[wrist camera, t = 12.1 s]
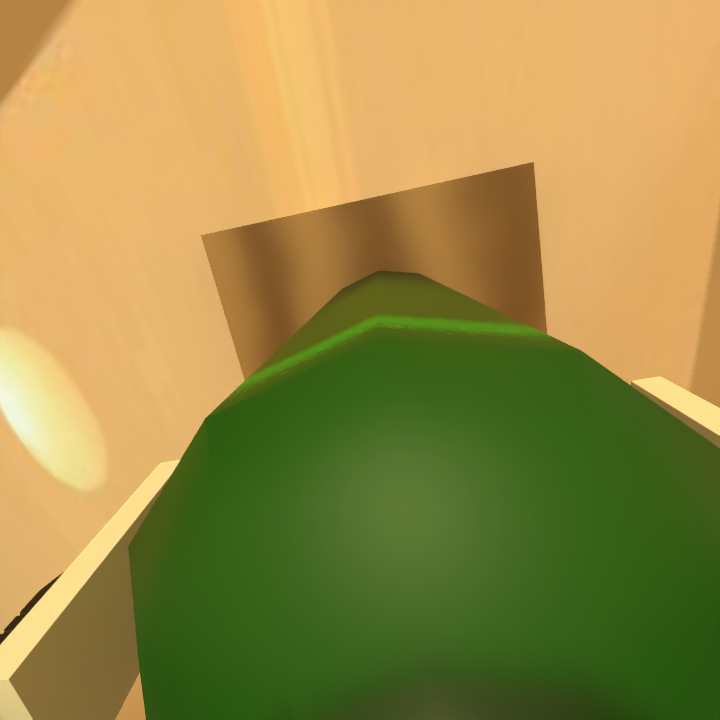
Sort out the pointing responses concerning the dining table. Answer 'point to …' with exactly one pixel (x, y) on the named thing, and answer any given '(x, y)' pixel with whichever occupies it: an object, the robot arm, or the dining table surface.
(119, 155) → the dining table surface
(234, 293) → the walnut riser
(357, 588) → the bottle
